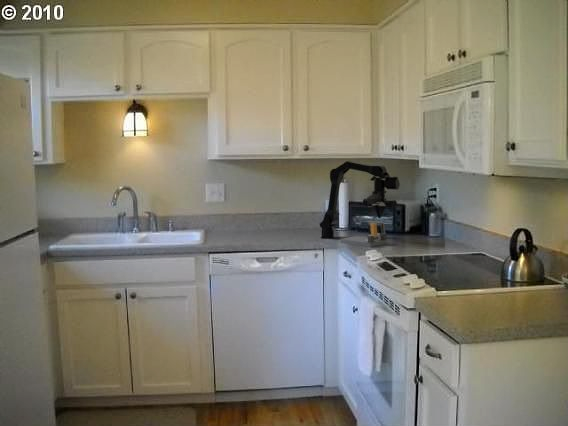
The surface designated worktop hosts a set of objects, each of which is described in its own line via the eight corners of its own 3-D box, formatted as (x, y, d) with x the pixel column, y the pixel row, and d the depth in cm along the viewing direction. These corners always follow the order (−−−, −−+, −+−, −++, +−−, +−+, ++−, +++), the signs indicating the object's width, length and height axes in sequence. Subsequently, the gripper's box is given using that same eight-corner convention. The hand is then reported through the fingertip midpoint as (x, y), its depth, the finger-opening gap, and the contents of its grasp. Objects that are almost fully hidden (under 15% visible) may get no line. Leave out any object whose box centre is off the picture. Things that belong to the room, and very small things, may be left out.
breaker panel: (340, 242, 303) (340, 232, 302) (357, 239, 313) (357, 229, 313) (370, 247, 289) (370, 236, 288) (387, 243, 299) (387, 233, 299)
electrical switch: (385, 237, 319) (385, 221, 317) (382, 239, 315) (381, 223, 313) (370, 236, 324) (370, 220, 322) (366, 238, 320) (366, 222, 318)
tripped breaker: (370, 240, 295) (369, 223, 295) (375, 239, 298) (374, 222, 297) (374, 240, 294) (372, 223, 293) (378, 239, 296) (377, 222, 296)
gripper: (356, 189, 301) (356, 218, 303) (385, 191, 287) (384, 221, 289) (368, 188, 308) (368, 216, 310) (397, 189, 295) (397, 219, 297)
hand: (379, 218), depth 301 cm, fingers closed
